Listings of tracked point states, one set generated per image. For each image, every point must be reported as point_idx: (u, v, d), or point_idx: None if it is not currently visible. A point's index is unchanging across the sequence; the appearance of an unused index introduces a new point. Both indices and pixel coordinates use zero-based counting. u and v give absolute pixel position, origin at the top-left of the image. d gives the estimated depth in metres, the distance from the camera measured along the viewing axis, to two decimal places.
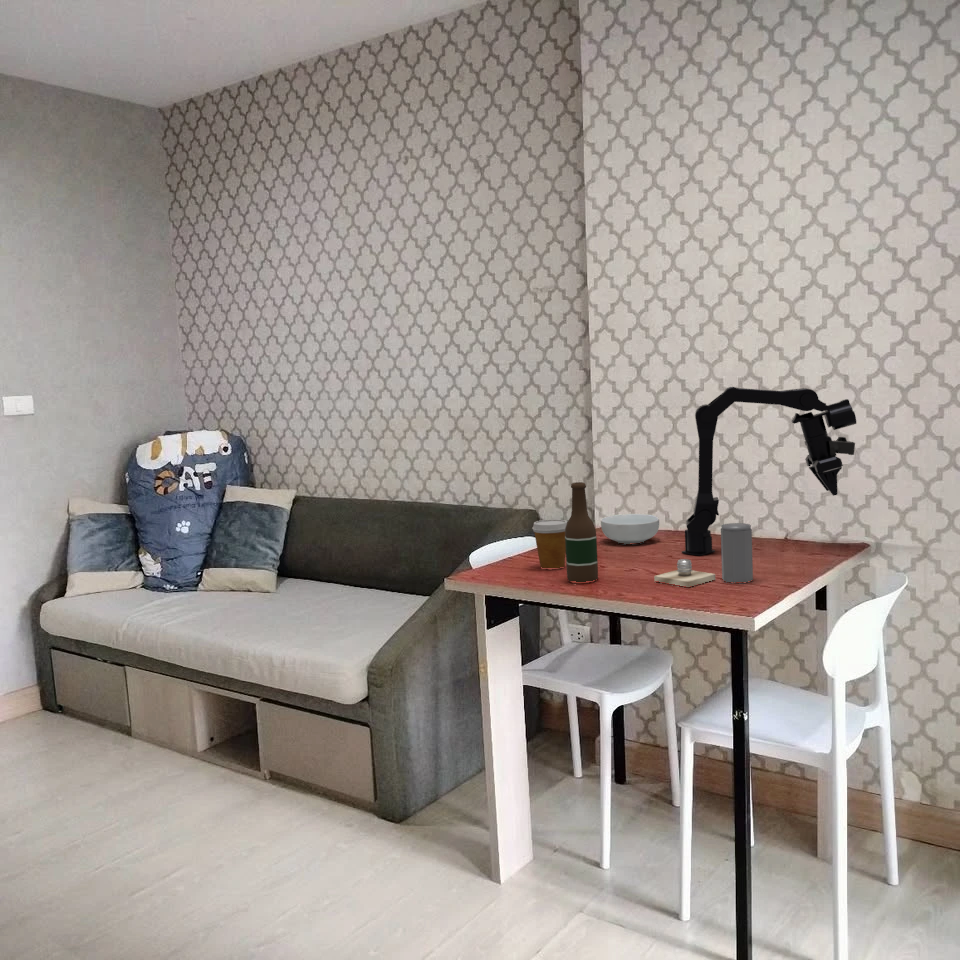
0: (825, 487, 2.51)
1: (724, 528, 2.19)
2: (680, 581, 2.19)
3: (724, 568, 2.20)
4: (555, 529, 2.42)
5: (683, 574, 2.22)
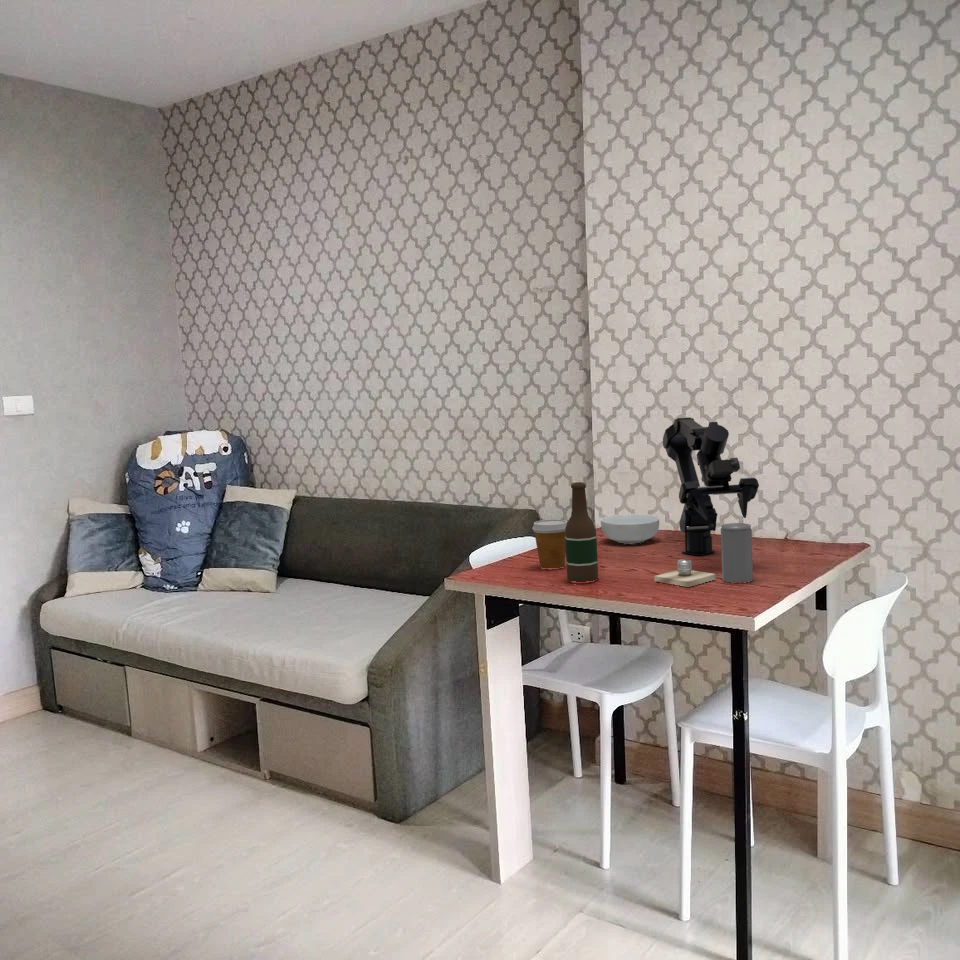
0: (743, 515, 2.29)
1: (724, 528, 2.19)
2: (680, 581, 2.19)
3: (724, 568, 2.20)
4: (555, 529, 2.42)
5: (683, 574, 2.22)
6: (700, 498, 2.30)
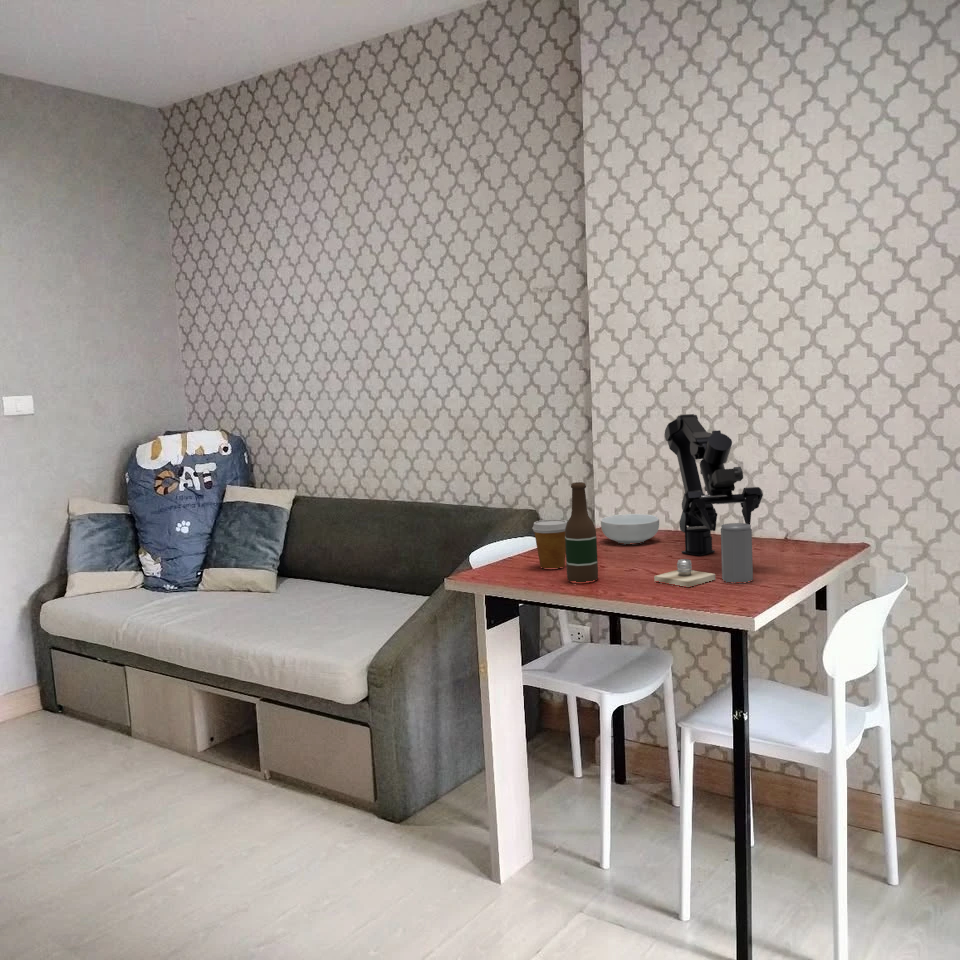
0: None
1: (724, 528, 2.19)
2: (680, 581, 2.19)
3: (724, 568, 2.20)
4: (555, 529, 2.42)
5: (683, 574, 2.22)
6: (703, 508, 2.27)
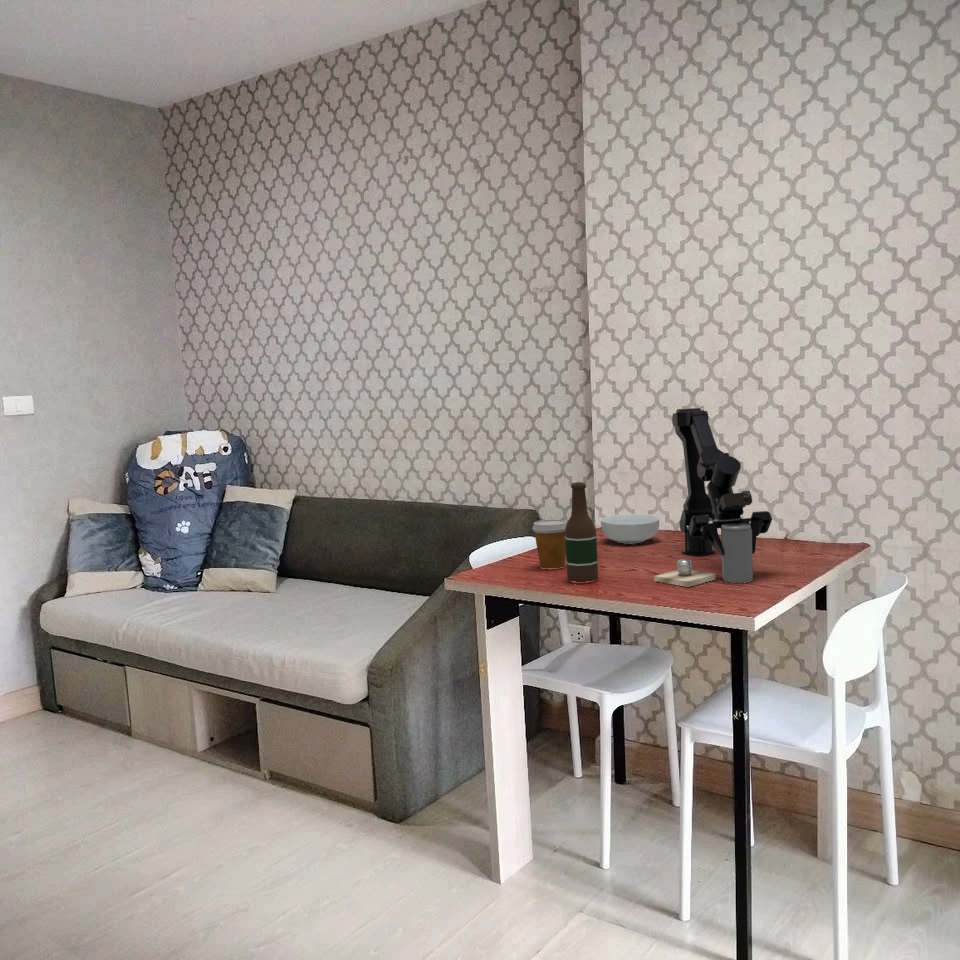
0: None
1: (724, 528, 2.19)
2: (680, 581, 2.19)
3: (724, 568, 2.20)
4: (555, 529, 2.42)
5: (683, 574, 2.22)
6: (715, 532, 2.22)
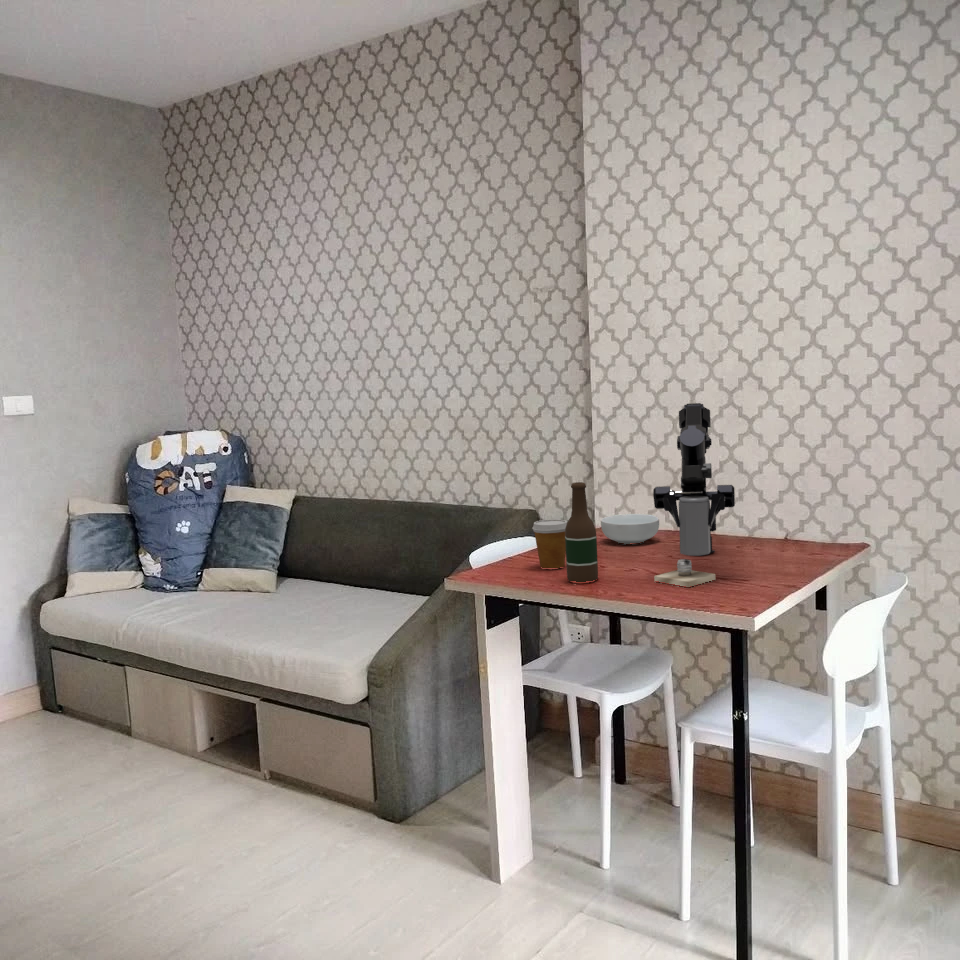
0: None
1: (680, 500, 2.21)
2: (680, 581, 2.19)
3: (680, 539, 2.22)
4: (555, 529, 2.42)
5: (683, 574, 2.22)
6: (674, 504, 2.23)
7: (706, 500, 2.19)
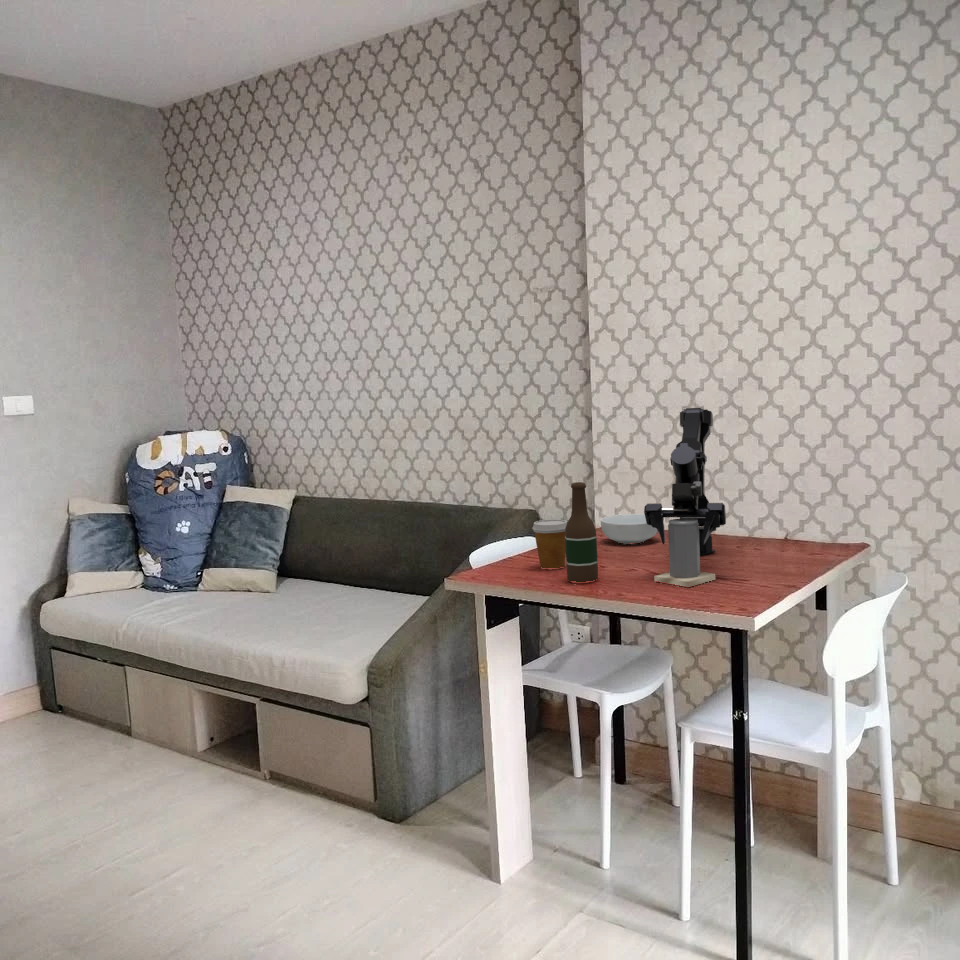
0: None
1: (669, 522, 2.22)
2: (680, 581, 2.19)
3: (669, 562, 2.23)
4: (555, 529, 2.42)
5: None
6: (660, 521, 2.25)
7: (695, 523, 2.20)
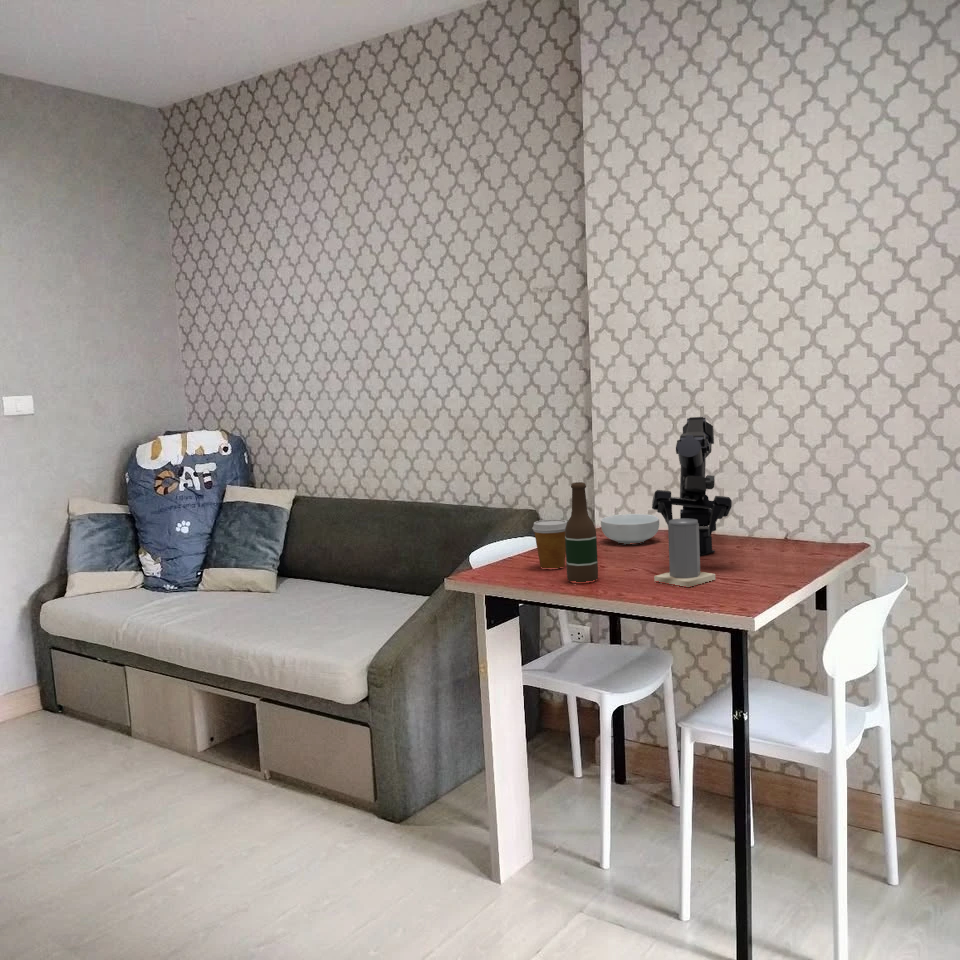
0: (708, 532, 2.31)
1: (669, 522, 2.22)
2: (680, 581, 2.19)
3: (669, 562, 2.23)
4: (555, 529, 2.42)
5: None
6: (669, 509, 2.33)
7: (695, 523, 2.20)
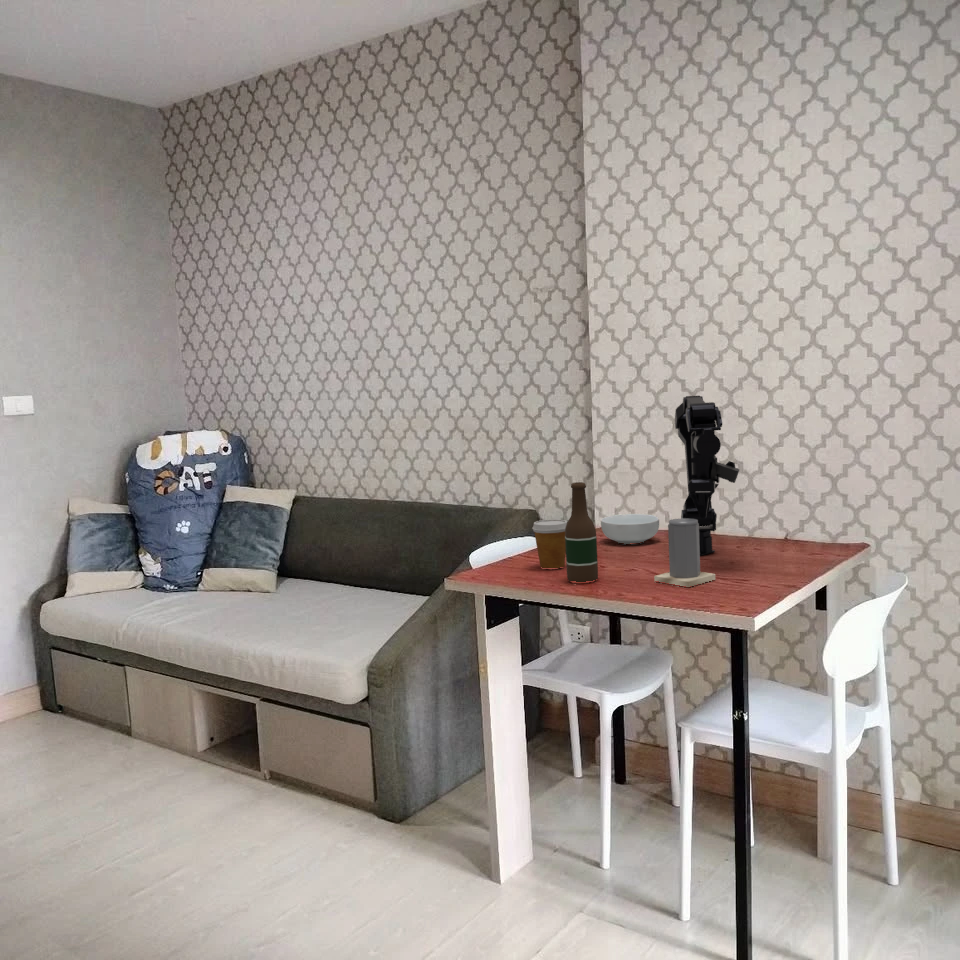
0: None
1: (669, 522, 2.22)
2: (680, 581, 2.19)
3: (669, 562, 2.23)
4: (555, 529, 2.42)
5: None
6: None
7: (695, 523, 2.20)
